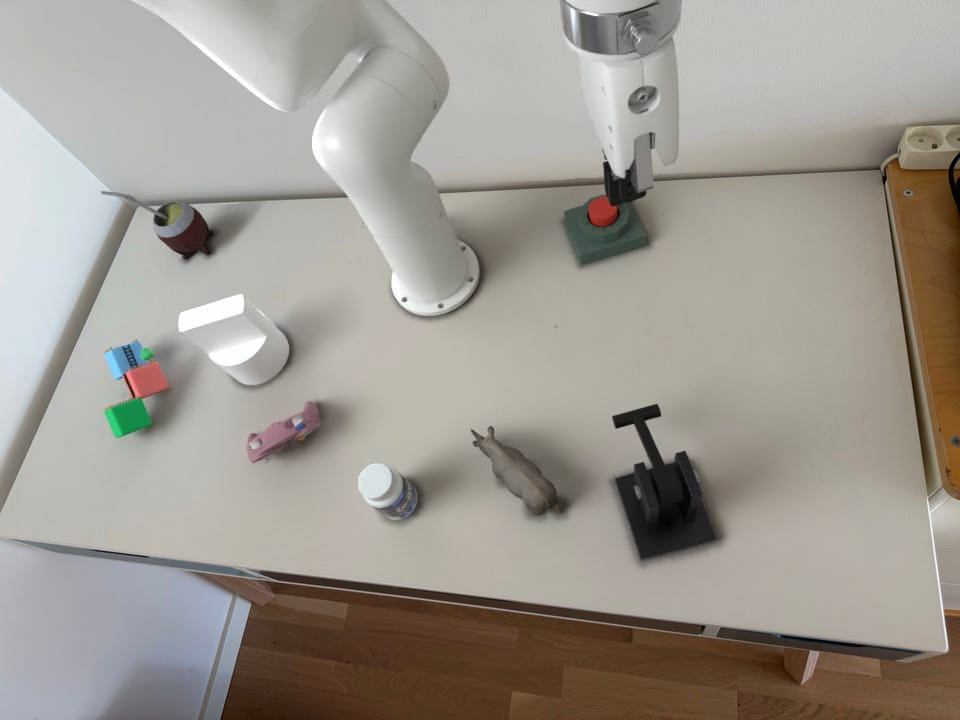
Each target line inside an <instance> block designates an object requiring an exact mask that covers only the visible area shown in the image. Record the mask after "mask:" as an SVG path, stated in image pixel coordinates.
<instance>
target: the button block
mask: <svg viewBox="0 0 960 720" xmlns="http://www.w3.org/2000/svg"><path fill="white" fill-rule="evenodd" d="M599 197H607V195H606V194H600V195H597V196H593V197H591V198H589V199H587V201H585V203H583V204H582V205H579V206H576V207H573V208H569V209H567V210H563V217H564V222H565V226H566V227H567V230H568V234H569V236H570V238H571V242H572V245H573V248H574V250H575V254H576V256H577V258H578V262H579V264H580V266H584V265H587V264H589V263H590V264H591V263H593V262H596V261H600V260H604V259H608V258H610V257H614V256H617V255H621V254H623V253H627V252H630V251H634V250H636V249H637V250H638V249H640V248H644V247H646V246H647V245H648V244H647V243H648V242H647V241H648V240H647V239H648V237H647V233H646V231H645V228H644V226H643V223H642V221H641V219H640V217H639V215H638V211H637V210H636V207H635V205H634V202H633V201H632V202H629V203H624V204H620V205H617V219H616V221H615V222H614V223H613V224H611V225H609V226H606V227H599V226H596V225H594V224H593V223H592V222H591V220H590V215H589V206H590V204H591V202H592V201H593V200H595V199H597V198H599ZM647 247H648V246H647Z"/></svg>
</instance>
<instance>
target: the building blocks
mask: <svg viewBox="0 0 960 720" xmlns="http://www.w3.org/2000/svg"><path fill="white" fill-rule="evenodd" d="M154 357H155V353H154V351H153V350H151V349H150V348H149V347H143V346H142V344H141V342H140V340H138V338H137V339H135V340H134V341H132V342H130V343H128V344H123V345H121V346H117V347H114V348H113V347H112V346H110V347H109V348H107V349H106V350H105V351H104V358H105V360H106V363H107V364H108V367H109V370H110V371H111V374H112V376H113V378H114V380H116V381H118V380H121V379H123V382H124V384H125V387H126V388H127V391H128V393H129V395H130V397H131V398H128V399H125V401H124V400H122V402H121V401H119V402H118V403H116V404H115V403H113V405H109V406H107V407H105V408H104V409H103V410H104V412H103V413H104V416H105V418H106V420H107V422H108V424H109V426H110V428H111V431H112V433H113V435H114V438H116V439H120V438H123V437H125V436H128V435H130V434H132V433H135V432H138V431H141V430H143V429H146V428H148V427H150V426H152V425H153V421H152V419H151V417H150V415H149V412H148V410H147V407H146V406H145V403H144V401H143V399H145V398H148V397H149V398H150V397H152V396H154V395H157V394H160V393H162V392H164V391H167V390H169V388H170V386H169V383H168V381H167V379H166V377H165V374H164V372H163V370H162V367H161V364H160V363H159V361H157V360H156V359H154V360H152V359H153V358H154Z"/></svg>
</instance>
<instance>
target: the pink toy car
mask: <svg viewBox="0 0 960 720" xmlns="http://www.w3.org/2000/svg"><path fill="white" fill-rule="evenodd" d="M319 422H320V411H319V408H318V406H317V405H316V404H315V403H314V402H313V401H311V400H308V401H306V402H305V403H304V407H303V410H302V411H300V412H298V413H296V414H294V415H291V416H289V417H288V418H286V419H283V420H279V421H275V422H273V423H271V424H270V425H269V426H268V427H266V428H265V429H264V430H263V432H261V433H259V434H258V433H255V432H252V433H250V434H248V437H247V442H246V448H245V449H246V452H247V457H248V458H249V460H250V462H251V463H252V464H255V463H257V462H262V464H268V463H270V462H271V461H272V459H273V457H271V456H272V455H273V454H275V453H277V452H279V451H281V450H283V449H285V448H286V447H288V446H289V444H288V442H287V441H289V440H291V439H292V441H293V442H297V441H300V442H302V441H305V440H306V438H307V437H306V436H308V435H309V434H311V433H313V431H314V430H316V429H318V428H320V424H319Z"/></svg>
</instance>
